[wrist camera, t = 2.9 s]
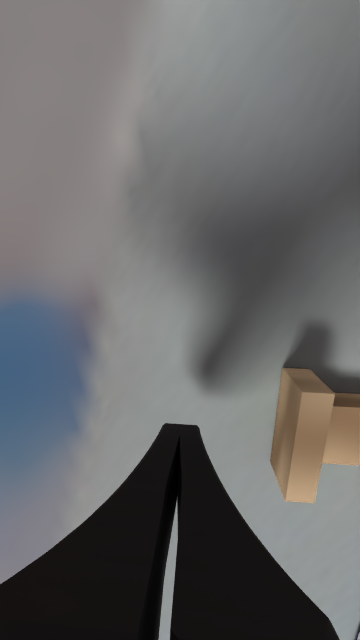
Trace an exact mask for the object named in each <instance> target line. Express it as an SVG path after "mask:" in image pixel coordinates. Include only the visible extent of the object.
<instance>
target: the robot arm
mask: <svg viewBox="0 0 360 640" xmlns="http://www.w3.org/2000/svg"><path fill="white" fill-rule="evenodd" d="M176 502H177V504H178V544H177V557H176V569H175V581H174V593H173V605H172V617H171V629H170V640H339V637H338V635H337V633H336V631H335V629H334V627H333V625H332V623H331V622H330V620H329V618H328V617H327V616H326V615H325V614H324V613H323V612H322V611H321V610H320V609H319V608H318V607H317V606H316V605H315V604H314V603H313V602H312V601H311V599H310V598H309V597H308V596H307V595H306V594H305V593H304V592H303V591H302V590H301V589H300V588H299V587H298V586H297V585H296V584H295V582H294V581H293V580H292V579H291V578H290V577H289V576H288V574H287V573H286V572H285V571H284V570H283V569H282V568H281V566H280V565H279V564H278V563H277V562H276V561H275V559H274V558H273V557H272V556H271V554H270V553H269V552H268V550H267V549H266V548H265V547H264V545H263V544H262V543H261V542H260V540H259V539H258V538H257V536H256V535H255V534H254V533H253V531H252V530H251V529H250V527H249V526H248V524H247V523H246V521H245V520H244V519H243V517H242V516H241V514H240V513H239V511H238V510H237V508H236V507H235V505H234V503H233V502H232V500H231V499H230V497H229V495H228V494H227V492H226V490H225V488H224V487H223V485H222V483H221V481H220V479H219V477H218V475H217V473H216V471H215V469H214V467H213V465H212V463H211V461H210V459H209V456H208V454H207V452H206V449H205V446H204V444H203V441H202V438H201V434H200V429H199V427H198V426H197V425H184V424H169V423H165V424H164V425H163V426H162V428H161V430H160V432H159V434H158V436H157V437H156V439H155V441H154V442H153V444H152V445H151V447H150V448H149V450H148V451H147V453H146V454H145V456H144V457H143V458H142V460H141V461H140V463H139V464H138V465H137V466H136V468H135V469H134V470H133V471H132V473H131V474H130V475H129V476H128V478H127V479H126V480H125V481H124V482H123V483H122V485H121V486H120V487H119V488H118V489H117V490H116V491H115V492H114V493H113V494H112V495H111V496H110V497H109V499H108V500H107V501H106V502H105V503H103V504H102V505H101V506H100V507H99V508H98V509H97V510H96V511H95V512H94V513H93V514H92V515H91V516H90V517H89V518H88V519H87V520H85V521H84V522H83V523H82V524H81V525H80V526H79V527H77V528H76V529H75V530H74V531H72V532H71V533H70V534H69V535H67V536H66V537H65V538H64V539H63V540H61V541H60V542H59V543H58V544H56V545H55V546H54V547H53V548H52V549H50V550H49V551H48V552H46V553H45V554H44V555H42V556H41V557H39V558H38V559H37V560H35V561H34V562H32V563H31V564H29V565H28V566H26V567H25V568H24V569H22V570H21V571H19V572H18V573H16V574H15V575H14V576H13V577H11V578H9V579H8V580H6V581H5V582H3V583H2V584H0V640H158V638H159V627H160V616H161V605H162V594H163V584H164V576H165V568H166V562H167V556H168V550H169V544H170V538H171V532H172V526H173V520H174V514H175V508H176ZM357 640H360V632H359V635H358V638H357Z"/></svg>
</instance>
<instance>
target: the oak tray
mask: <svg viewBox="0 0 360 640" xmlns="http://www.w3.org/2000/svg"><path fill="white" fill-rule="evenodd" d="M270 462H271V465H272V467H273V470H274V473H275V475H276V478H277V481H278V483H279V486H280V488H281V491H282V494H283V496H284V499H285V501H291V502H307V503H315V498H316V493H317V488H318V482H319V477H320V472H321V466H322V463H327V464H344V465H360V394H351V393H334V392H333V391H332V390H331V389H330V388H329V387H328V386H327V385H325V384H324V383H323V382H322V381H321V380H320V379H319V378H318V377H317V376H316V375H315V374H314V373H313V372H312V371H311V370H310V369H296V368H283V369H282V377H281V384H280V392H279V399H278V407H277V415H276V422H275V430H274V437H273V445H272V452H271V460H270Z"/></svg>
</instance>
